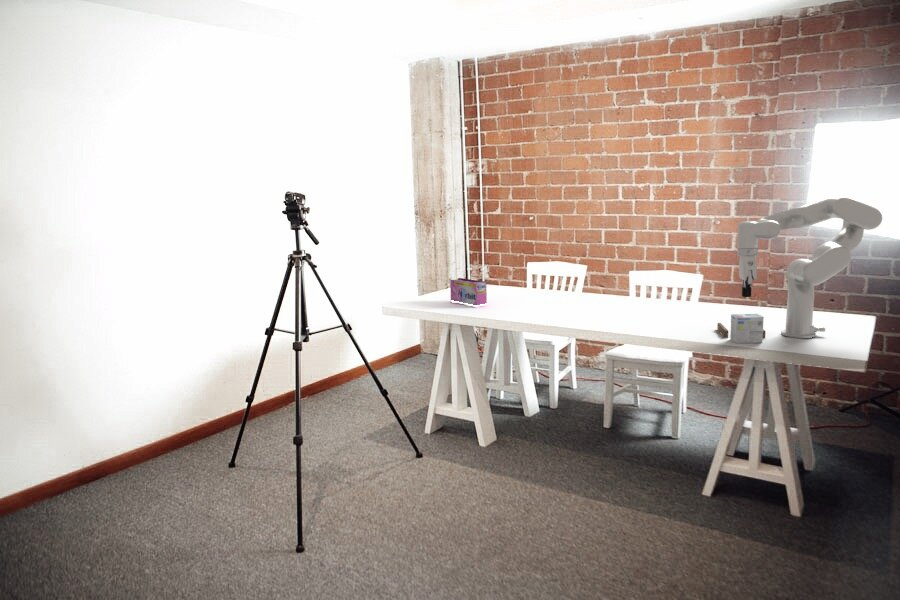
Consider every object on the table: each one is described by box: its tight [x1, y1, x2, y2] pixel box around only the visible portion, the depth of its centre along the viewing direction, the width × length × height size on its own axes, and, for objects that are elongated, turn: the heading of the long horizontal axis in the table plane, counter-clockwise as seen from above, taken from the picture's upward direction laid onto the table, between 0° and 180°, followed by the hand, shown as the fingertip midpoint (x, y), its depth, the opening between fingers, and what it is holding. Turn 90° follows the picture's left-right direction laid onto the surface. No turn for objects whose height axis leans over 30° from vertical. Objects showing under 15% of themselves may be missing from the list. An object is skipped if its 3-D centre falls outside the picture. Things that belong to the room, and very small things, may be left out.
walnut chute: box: [716, 322, 766, 339], centre depth 270 cm, size 15×15×3 cm
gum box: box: [449, 277, 488, 305], centre depth 357 cm, size 24×8×14 cm, turn 39°
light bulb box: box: [729, 313, 765, 344], centre depth 257 cm, size 11×7×11 cm, turn 87°
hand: (746, 296), depth 263 cm, fingers closed
